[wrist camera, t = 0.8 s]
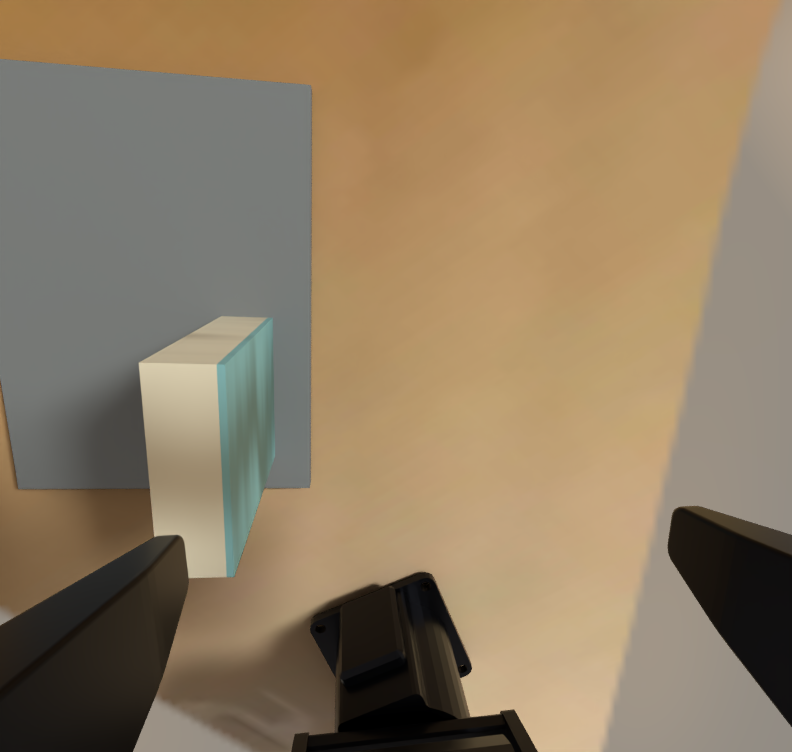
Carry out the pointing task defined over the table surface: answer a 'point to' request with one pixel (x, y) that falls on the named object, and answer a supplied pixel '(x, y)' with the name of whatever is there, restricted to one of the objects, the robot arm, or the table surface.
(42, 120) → the mat
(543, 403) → the table surface
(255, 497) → the tile
